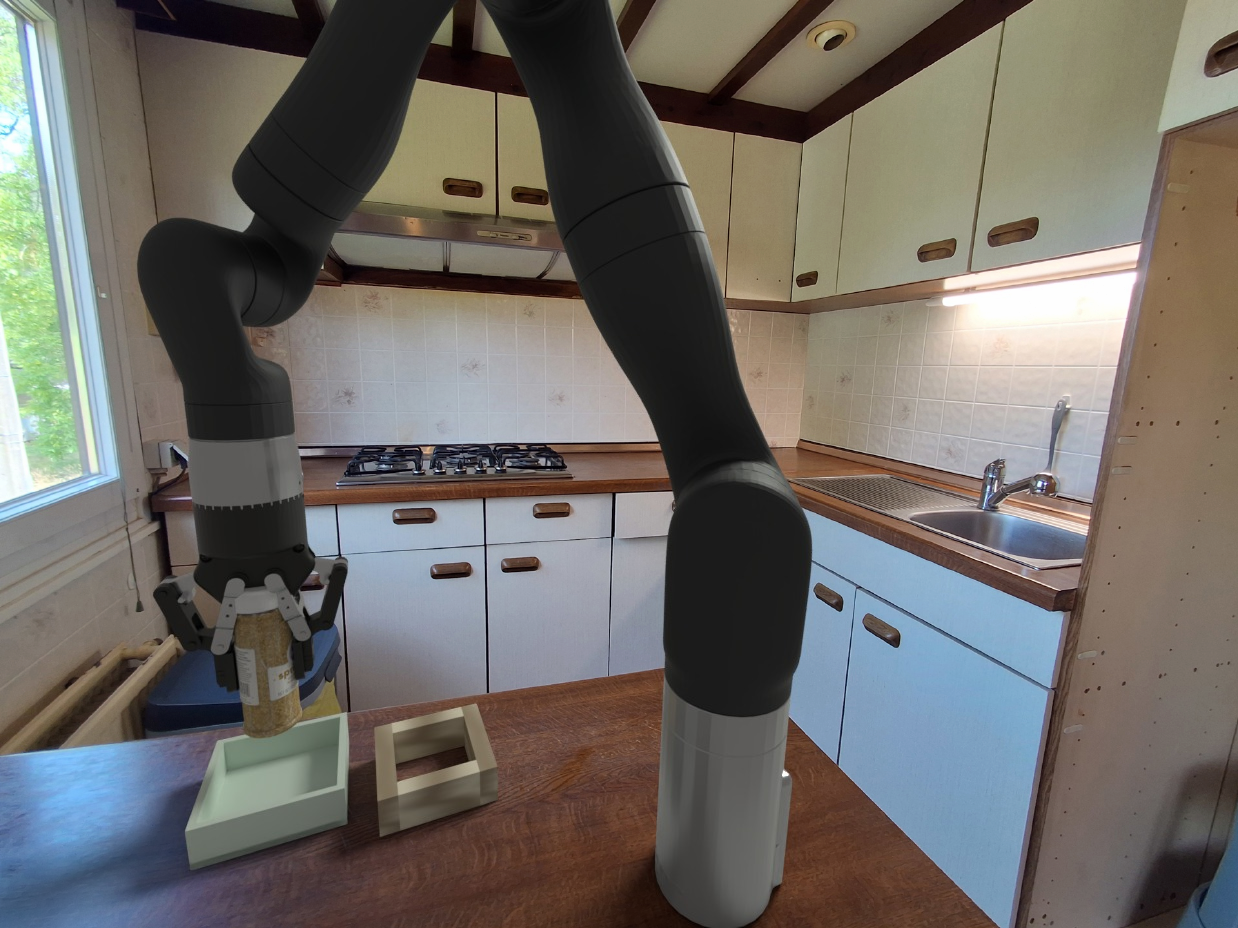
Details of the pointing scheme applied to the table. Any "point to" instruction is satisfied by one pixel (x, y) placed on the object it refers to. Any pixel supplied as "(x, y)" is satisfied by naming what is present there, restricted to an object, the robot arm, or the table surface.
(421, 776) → the socket block
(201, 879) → the table surface
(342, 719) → the tray
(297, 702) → the sprinkles bottle
